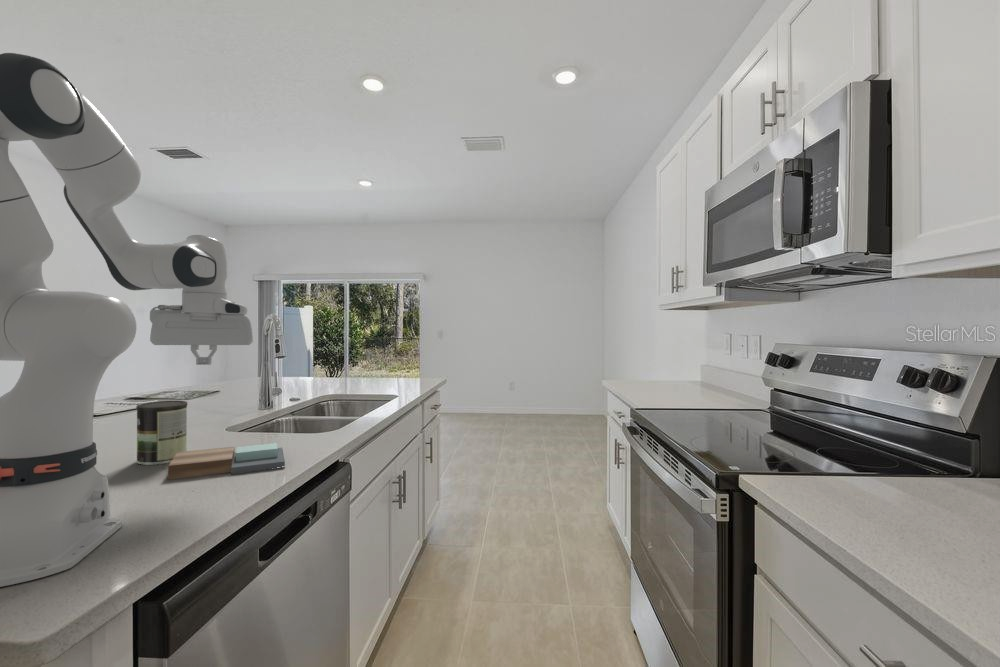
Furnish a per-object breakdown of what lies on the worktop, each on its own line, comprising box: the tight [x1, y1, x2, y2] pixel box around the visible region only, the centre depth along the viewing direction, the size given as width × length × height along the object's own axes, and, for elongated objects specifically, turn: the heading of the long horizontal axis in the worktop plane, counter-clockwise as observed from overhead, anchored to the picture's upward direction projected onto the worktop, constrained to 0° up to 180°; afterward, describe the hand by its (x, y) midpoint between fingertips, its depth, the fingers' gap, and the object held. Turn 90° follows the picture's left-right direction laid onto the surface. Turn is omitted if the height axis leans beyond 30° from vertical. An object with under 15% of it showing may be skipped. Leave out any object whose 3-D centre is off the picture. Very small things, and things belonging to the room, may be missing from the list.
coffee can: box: [135, 400, 188, 466], centre depth 113 cm, size 10×10×14 cm
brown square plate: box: [167, 446, 236, 480], centre depth 106 cm, size 12×12×3 cm
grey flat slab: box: [230, 447, 286, 475], centre depth 111 cm, size 14×11×2 cm
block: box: [235, 442, 279, 461], centre depth 112 cm, size 6×9×2 cm, turn 119°
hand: (203, 364), depth 106 cm, fingers closed
